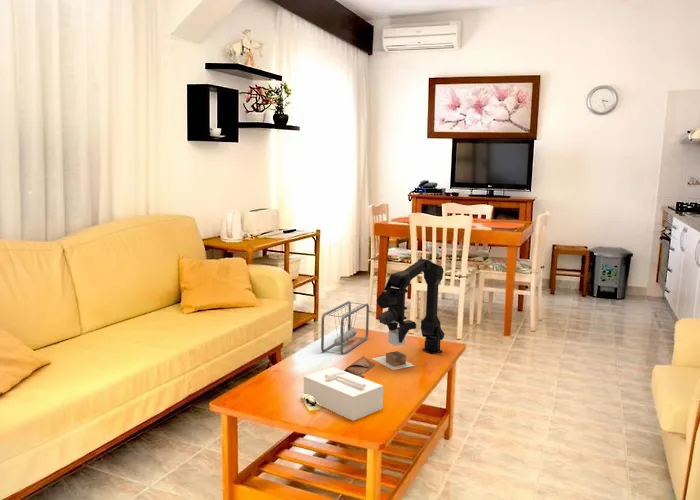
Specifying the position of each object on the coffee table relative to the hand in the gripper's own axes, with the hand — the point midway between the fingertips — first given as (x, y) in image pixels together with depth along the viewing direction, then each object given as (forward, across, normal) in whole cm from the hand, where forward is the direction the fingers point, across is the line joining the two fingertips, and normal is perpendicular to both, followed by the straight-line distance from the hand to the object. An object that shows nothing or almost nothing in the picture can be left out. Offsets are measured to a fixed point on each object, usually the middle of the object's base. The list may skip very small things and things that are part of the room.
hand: (396, 340), depth 251 cm
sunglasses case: (+11, -2, -16) cm, 19 cm away
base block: (+10, 0, 0) cm, 10 cm away
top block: (+1, 0, 0) cm, 1 cm away
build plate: (+11, -2, 0) cm, 11 cm away
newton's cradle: (+11, -33, -5) cm, 35 cm away
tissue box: (+11, +23, -40) cm, 47 cm away
